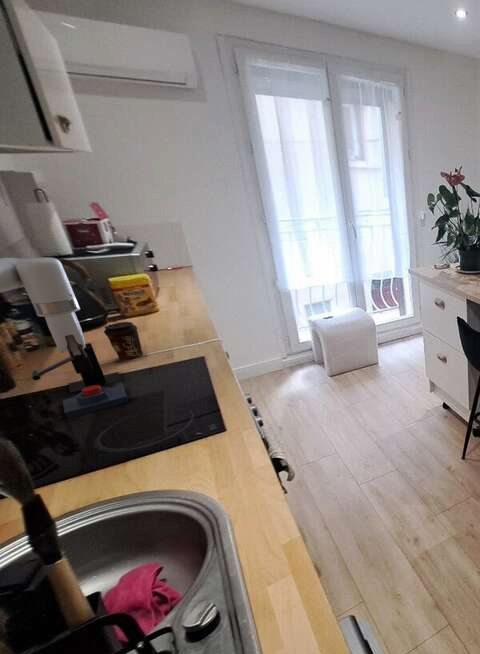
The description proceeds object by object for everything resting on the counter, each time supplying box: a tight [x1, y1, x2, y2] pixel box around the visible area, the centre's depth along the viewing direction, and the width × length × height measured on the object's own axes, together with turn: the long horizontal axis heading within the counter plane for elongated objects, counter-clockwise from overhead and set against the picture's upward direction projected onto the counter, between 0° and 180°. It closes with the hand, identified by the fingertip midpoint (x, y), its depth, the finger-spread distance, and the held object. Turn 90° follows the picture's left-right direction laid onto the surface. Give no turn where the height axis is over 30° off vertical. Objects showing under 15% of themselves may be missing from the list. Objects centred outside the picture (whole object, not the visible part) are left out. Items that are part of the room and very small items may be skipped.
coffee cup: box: [103, 321, 144, 362], centre depth 142 cm, size 9×8×13 cm
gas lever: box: [31, 356, 71, 381], centre depth 119 cm, size 13×5×2 cm, turn 140°
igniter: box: [62, 384, 130, 419], centre depth 114 cm, size 12×10×4 cm
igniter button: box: [80, 385, 102, 396], centre depth 113 cm, size 4×4×2 cm
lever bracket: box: [68, 342, 123, 394], centre depth 123 cm, size 11×9×13 cm
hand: (85, 371), depth 111 cm, fingers closed
